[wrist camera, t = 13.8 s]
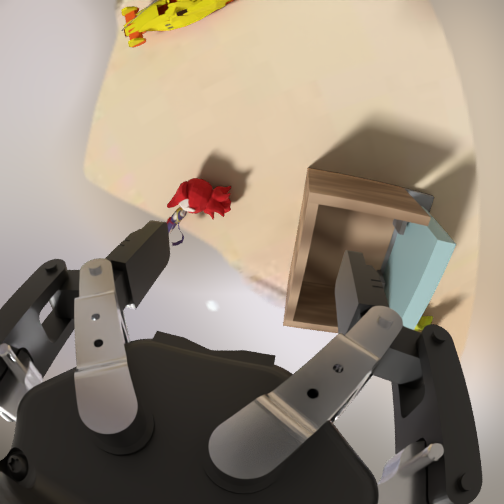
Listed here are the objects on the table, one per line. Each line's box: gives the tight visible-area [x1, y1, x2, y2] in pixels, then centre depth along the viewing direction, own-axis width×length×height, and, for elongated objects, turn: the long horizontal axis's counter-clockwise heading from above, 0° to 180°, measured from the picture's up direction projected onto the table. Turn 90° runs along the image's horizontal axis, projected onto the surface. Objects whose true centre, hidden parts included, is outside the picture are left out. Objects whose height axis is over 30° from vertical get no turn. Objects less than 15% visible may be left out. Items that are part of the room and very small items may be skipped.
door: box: [383, 206, 456, 330], centre depth 37 cm, size 16×4×12 cm, turn 175°
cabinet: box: [283, 168, 434, 333], centre depth 39 cm, size 20×21×11 cm
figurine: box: [166, 178, 231, 246], centre depth 43 cm, size 6×8×15 cm
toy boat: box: [121, 0, 233, 47], centre depth 25 cm, size 6×18×10 cm, turn 104°
